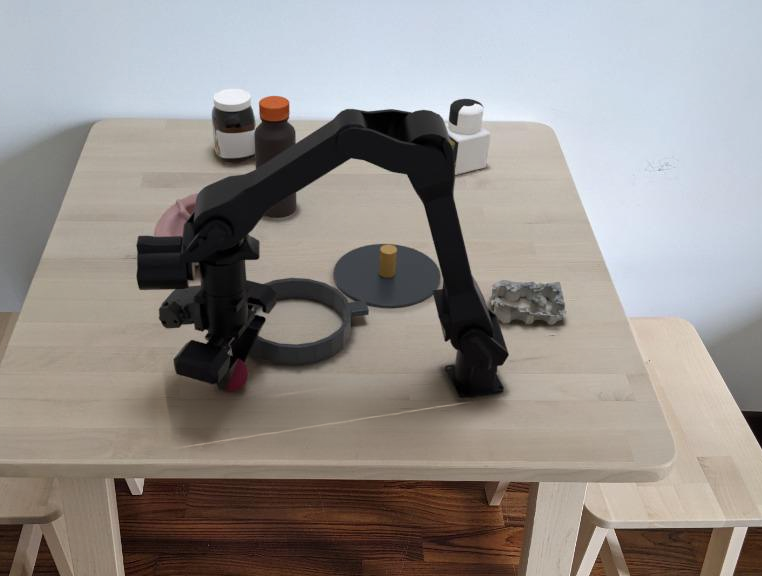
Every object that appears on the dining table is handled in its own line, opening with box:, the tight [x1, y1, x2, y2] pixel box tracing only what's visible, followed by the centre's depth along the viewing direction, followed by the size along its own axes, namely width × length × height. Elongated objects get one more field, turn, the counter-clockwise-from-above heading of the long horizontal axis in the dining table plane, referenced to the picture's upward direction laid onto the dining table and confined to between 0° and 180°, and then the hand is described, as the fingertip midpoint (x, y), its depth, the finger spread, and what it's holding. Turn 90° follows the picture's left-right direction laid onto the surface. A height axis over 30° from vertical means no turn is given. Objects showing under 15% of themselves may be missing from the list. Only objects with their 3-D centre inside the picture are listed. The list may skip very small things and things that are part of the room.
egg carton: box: [490, 279, 567, 325], centre depth 136 cm, size 11×8×4 cm
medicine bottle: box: [444, 98, 491, 176], centre depth 168 cm, size 7×7×12 cm
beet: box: [224, 358, 249, 392], centre depth 124 cm, size 5×5×5 cm
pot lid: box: [333, 243, 441, 309], centre depth 142 cm, size 17×17×6 cm
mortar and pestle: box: [153, 192, 199, 267], centre depth 145 cm, size 12×12×12 cm
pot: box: [249, 277, 370, 367], centre depth 133 cm, size 16×22×4 cm
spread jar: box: [211, 88, 257, 164], centre depth 171 cm, size 12×11×12 cm
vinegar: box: [254, 95, 297, 219], centre depth 153 cm, size 7×7×20 cm
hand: (231, 377), depth 124 cm, fingers closed on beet, 5 cm apart
